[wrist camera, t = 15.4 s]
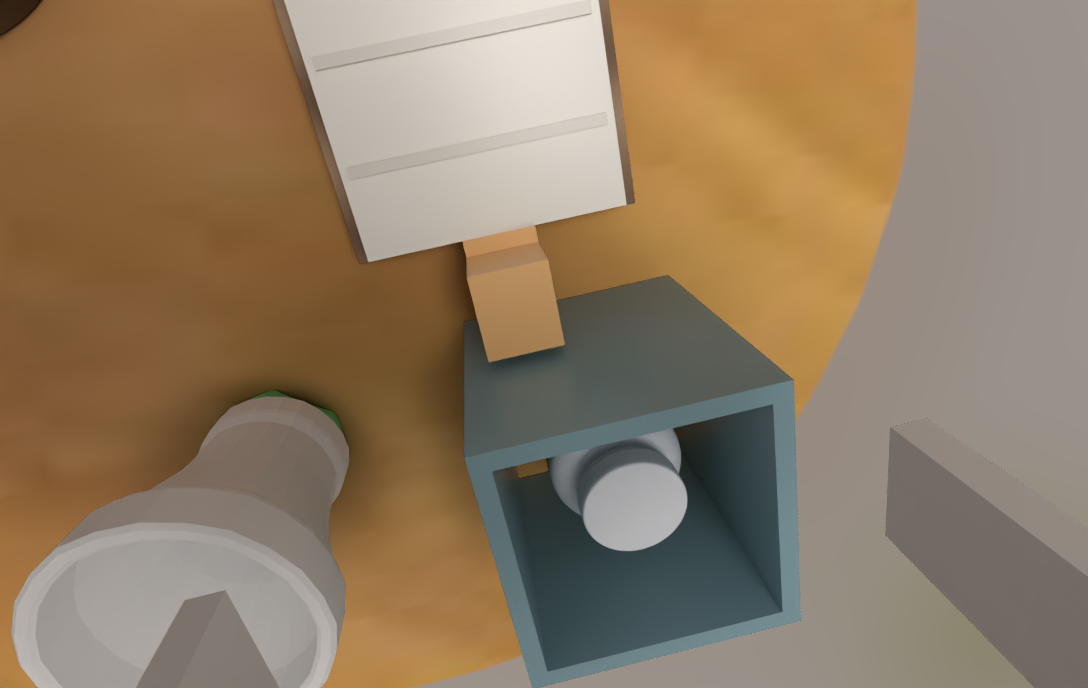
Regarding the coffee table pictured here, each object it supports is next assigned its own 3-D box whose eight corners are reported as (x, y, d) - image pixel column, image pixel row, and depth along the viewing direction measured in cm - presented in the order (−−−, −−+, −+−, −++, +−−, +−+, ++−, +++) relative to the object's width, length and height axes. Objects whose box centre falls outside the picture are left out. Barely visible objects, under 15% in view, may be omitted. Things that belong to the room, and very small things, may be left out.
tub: (464, 321, 33) (464, 458, 21) (668, 275, 34) (793, 379, 21) (509, 491, 38) (532, 689, 25) (688, 448, 39) (800, 620, 26)
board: (259, -82, 25) (239, -102, 23) (575, -145, 26) (586, -169, 24) (367, 252, 31) (359, 264, 29) (622, 195, 32) (635, 202, 30)
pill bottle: (530, 437, 37) (557, 573, 26) (532, 341, 34) (563, 447, 24) (631, 433, 38) (697, 563, 27) (640, 339, 35) (717, 441, 25)
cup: (342, 543, 38) (278, 773, 25) (159, 486, 35) (-23, 715, 22) (412, 401, 35) (382, 579, 22) (219, 325, 32) (48, 480, 19)
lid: (286, -34, 25) (236, -73, 19) (572, -91, 25) (602, -145, 20) (402, 336, 32) (390, 385, 26) (627, 285, 32) (660, 322, 27)
